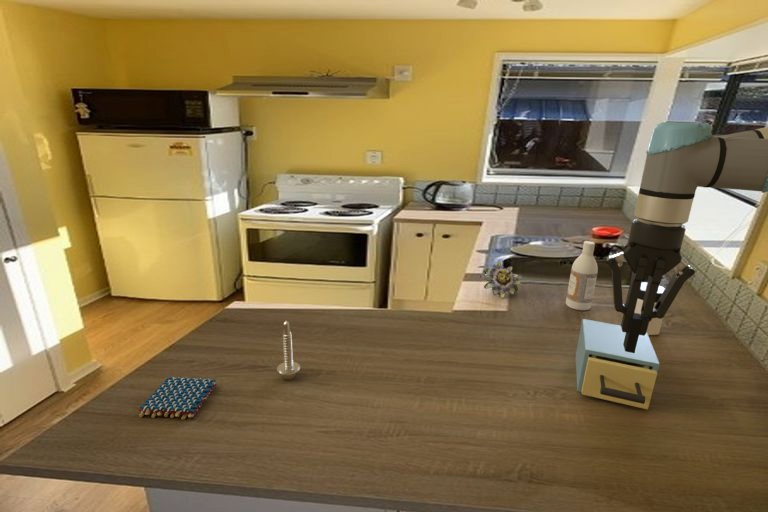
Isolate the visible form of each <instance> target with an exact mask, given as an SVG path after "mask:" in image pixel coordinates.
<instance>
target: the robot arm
mask: <svg viewBox="0 0 768 512" xmlns="http://www.w3.org/2000/svg"><path fill="white" fill-rule="evenodd" d="M712 129H713V126H712V125H711V124H710V123H708V122H679V121H677V122H676V121H663V122H660V123H658V124H656V126H654V128H653V130H652V134H651V137H650V140H649V144H648V147H647V149H646V151H645V154H646V157H645V161H644V166H643V171H642V177H641V181H640V186H639V190H638V194H637V198H636V203H635V207H634V211H633V216H634V217H635V218H634V219H633V220H632V221H631V225H630V230H629V235H628V239H627V242H626V244H625V246H624V247H623V248H622V250H621V252H619V253H616V254H608V255H607V256H606V261H607V264H608V266H609V268H610V271H611V283H612V285H611V286H612V297H613V306H614V310H615V311H616V312H617V313H621V314H623V316H622V319H621V320H622V321H621V323H620V326H621V328H622V332H626V335H625V339H624V343H623V345H624V349H625V351H626V352H631V353H635V349H636V345H637V341H638V337H639V335H643V336H644V335H645V334H646V332H647V328H648V324H649V322H650V321H651V320H652V318H659V319H661V318H663V319H664V317H665V316H666V314H667V312H668V311H669V309H670V307H671V306H672V304H673V302H674V301H675V299H676V297H677V295H678V294H679V293H680V291H681V289H682V287H683V286H684V284H685V283H686V281H688V280H689V279H691V278H692V277H693V276H694V275H695V273H696V271H695V269H694V268H693V267H692V266H691V265H690V264H688V263H687V264H686V263H685V262H684V261H683V260H682V259H683V257H682V255H681V249H682V245H683V241H684V237H685V234H686V229H687V227H685V225H684V224H686V223H688V222H689V218H690V214H691V211H692V207H693V202H694V198H695V196H696V191H697V189H698V188H715V189H727V190H738V191H750V192H751V191H752V192H761V193H764V194H765V193H768V126H766V127H761V128H756V129H751V130H745V131H740V132H734V133H729V134H719V133H718V134H713V133H712ZM624 260H625V261H626V263H627V265H628V267H629V268H630V270H631V277H630V281H629V285H628V290H627V294H626V299H625V303H623V288H622V287H623V285H622V273H621V267H622V266H623V265H624V264H623V263H624ZM671 270H674V273H673V275H672V276H671V278H669V279H670V280H669V281H668V283H667V285H666V286H665V287H664V288H665V290H664V291H663V293H662V295H661V297H660V298H659V300H658V302H657V303H656V305H655V307H654V304H655V299H656V295H657V291H658V287H659V285H661V283H662V278H663V276H665V275H666V274H668V273H669V272H670V271H671ZM645 276H647V278H648V279H647V281H646V282H647V287H646V291H645V295H644V299H643V304H642V308H641V315H640V314H638V313H634V312H635V308H636V304H637V300H638V295H639V291H640V287H641V283H642V282H644V281H643V280H644V277H645Z"/></svg>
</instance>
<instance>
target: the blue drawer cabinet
mask: <svg viewBox="0 0 768 512" xmlns="http://www.w3.org/2000/svg"><path fill="white" fill-rule="evenodd" d="M625 335H626V332H622V328H621V324H620V325H619V324H615V323H608V322H603V321H597V320H591V319H585V318H582V320H581V326H580V331H579V335H578V336H579V337H578V341H577V347H576V352H575V356H574V357H575V374H576V391H577V392H578V393H582V392H581V390H582V385H583V380H584V375H585V371H586V366H587V361H588V357H589V355H590V354H591V355H596V356H601V357H606V358H611V359H616V360H621V361H626V362H631V363H636V364H641V365H646V366H649V369H650V370H655V371H656V372H657V374H658V373H659V370H660V369H659V368H660V365H661V363H660V362H659V359H658V356H657V354H656V350H655V348H654V346H653V344H652V341H651V338H650V335H648V333H647V332H646V334H645V335H644V336H643V335H639V337H638V341H637V345H636V349H635V353H631V352H626V351H625V349H624V345H623V343H624V339H625Z"/></svg>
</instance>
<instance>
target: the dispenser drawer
mask: <svg viewBox="0 0 768 512" xmlns="http://www.w3.org/2000/svg"><path fill="white" fill-rule="evenodd" d="M657 376H658V373H657V372H656V371H655V370H650V369H649V366H646V365H641V364H636V363H631V362H626V361H621V360H616V359H611V358H606V357H601V356H596V355H591V354H590V355H589V357H588V361H587V366H586V371H585V375H584V380H583V385H582V390H581V392H580V393H581V395H583V396H588V397H593V398H595V399H601V400H605V401H609V402H613V403H617V404H618V403H619V404H623V405H627V406H631V407H634V408H639V409H644V410H649V408H650V403H651V399H652V395H653V392H654V388H655V385H656V382H657V381H656V380H657Z"/></svg>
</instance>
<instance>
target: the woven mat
mask: <svg viewBox="0 0 768 512" xmlns="http://www.w3.org/2000/svg"><path fill="white" fill-rule="evenodd" d="M163 381H164V382H162V383H161V384H160V385H159V387H157V389H155V390H154V391H155V392H153V393H152V394H150V396H149V397H148V398H147V399H146V400H145V403H143V404H141V405H139V406H140V407H139V408H138V411H139V412H140V414H138V417H140V418H143V417H144V416H145V415H146V416H149V415H150V416H151V417H150V418H152V419H155V418H156V417H157V416H158V417H162V416H163V417H164V418H168V417H169V418H171V419H173V418H174V417H176V418H177V417H178V418H179V417H180V419H181V420H182V421H183V420H186V419H187V417H188V418H189V419H191V418H193V417H194V416H195V415H196V413H198V412H199V410H200V408H201V406H202V405H203V404H204V403H205V402H206V401H207V399H208V397H209V396H210V394H211V393H212V391H213V390H214V388H215V387H216V386H218V384H217V383H216V382H217V379H210V378H204V379H202V378H201V377H200V378H195V377H193V378H190V377H189V378H188V377H186V376H185V377H181V378H180V376H178V377H174V376H172V377H171V376H169V377H167V378H166V379H164V380H163ZM169 414H170V415H169Z"/></svg>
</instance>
